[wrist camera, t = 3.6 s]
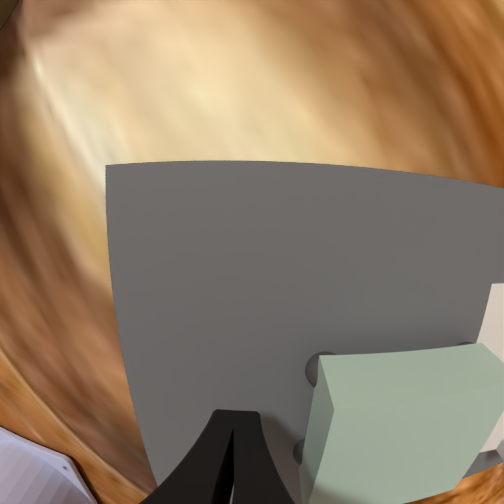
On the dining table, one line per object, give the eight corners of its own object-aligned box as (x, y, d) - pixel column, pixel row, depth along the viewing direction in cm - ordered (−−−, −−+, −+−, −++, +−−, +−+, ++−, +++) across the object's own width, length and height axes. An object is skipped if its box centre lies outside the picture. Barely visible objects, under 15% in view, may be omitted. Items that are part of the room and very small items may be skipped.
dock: (554, 425, 12) (577, 451, 8) (165, 488, 13) (150, 542, 9) (621, 222, 8) (658, 234, 5) (118, 165, 9) (45, 164, 6)
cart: (433, 436, 11) (459, 486, 7) (289, 453, 11) (294, 518, 8) (474, 330, 9) (524, 375, 6) (305, 340, 9) (321, 410, 6)
